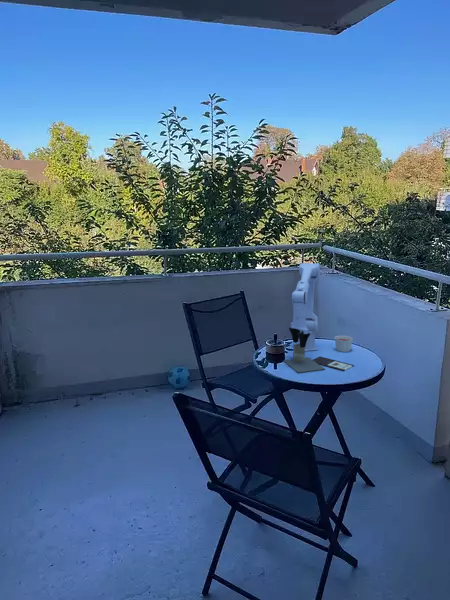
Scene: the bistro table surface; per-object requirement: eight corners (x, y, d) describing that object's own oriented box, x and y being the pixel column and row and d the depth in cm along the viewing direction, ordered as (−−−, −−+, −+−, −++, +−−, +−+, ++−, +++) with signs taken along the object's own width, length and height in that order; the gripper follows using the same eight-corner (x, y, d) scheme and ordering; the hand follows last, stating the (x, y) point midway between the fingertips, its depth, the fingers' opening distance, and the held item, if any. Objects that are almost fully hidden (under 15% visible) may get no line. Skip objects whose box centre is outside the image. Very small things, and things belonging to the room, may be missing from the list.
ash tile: (293, 360, 196) (293, 344, 195) (302, 359, 198) (303, 343, 196) (294, 362, 195) (295, 345, 193) (304, 360, 196) (304, 344, 194)
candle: (339, 346, 219) (339, 334, 217) (355, 349, 213) (356, 337, 212) (330, 350, 212) (331, 338, 211) (347, 354, 206) (348, 341, 205)
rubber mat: (283, 361, 197) (283, 360, 197) (308, 358, 201) (308, 357, 201) (298, 373, 182) (298, 372, 182) (324, 370, 186) (325, 368, 186)
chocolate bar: (319, 356, 202) (353, 365, 190) (319, 358, 202) (353, 367, 190) (309, 361, 196) (343, 370, 183) (309, 363, 196) (343, 372, 184)
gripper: (285, 313, 198) (284, 341, 201) (298, 321, 184) (298, 350, 187) (298, 312, 200) (298, 339, 202) (312, 319, 186) (312, 348, 189)
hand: (299, 344), depth 195 cm, fingers open, 7 cm apart
